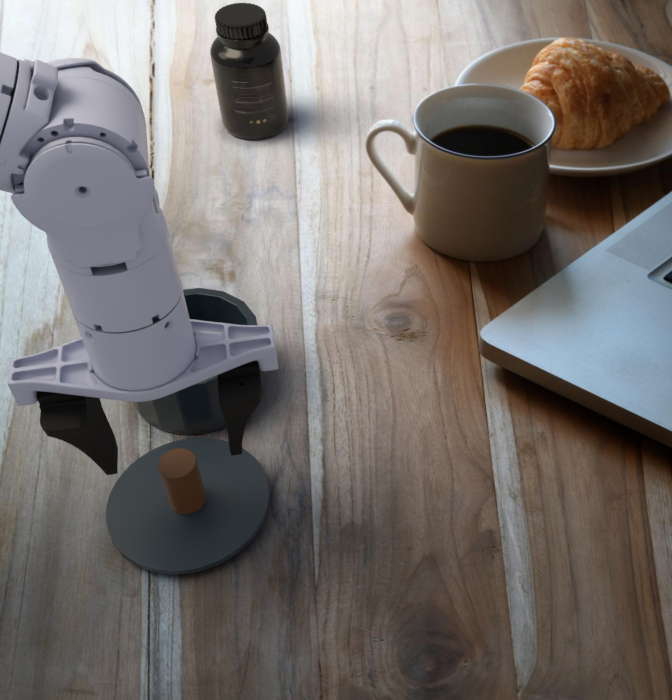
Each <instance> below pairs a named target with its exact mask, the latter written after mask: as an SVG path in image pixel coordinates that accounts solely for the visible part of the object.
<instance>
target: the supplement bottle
mask: <svg viewBox="0 0 672 700" xmlns="http://www.w3.org/2000/svg"><path fill="white" fill-rule="evenodd" d="M267 19H268V17H267V14H266V11H265V10H264V8H262V6H260V5H257V4H254V3H251V2H234V3H230V4H226V5H225V6H222V7H221V8H219V9H218V10H217V11H216V12H215V14H214V23H215V33H216V36H217V37H216V38H215V39H214V40H213V42H211V43H212V44H211V46H210V49H209V53H210V54H209V55H210V62H211V67H212V72H213V78H214V84H215V89H216V95H217V101H218V106H219V113H220V117H221V122H222V125H223V127H224V128H225V130H226V131H227V132H228V133H230V134H231V135H232V136H234V137H237V138H240V139H244V140H262V139H266V138H267V139H268V138H270V137H272V136H273V137H274V136H275V135H277V134H278V133H280V132H281V131H282V130H283V129H284V128H285V127H286V125H287V124H288V121H289V109H288V99H287V91H286V83H285V73H284V67H283V66H284V64H283V56H282V48H281V45H280V43H279V41H278V40H277V38H276V37H275V36H274V35H273V34H272V33H270V27H269V23H268V20H267Z"/></svg>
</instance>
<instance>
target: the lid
mask: <svg viewBox="0 0 672 700" xmlns="http://www.w3.org/2000/svg"><path fill="white" fill-rule="evenodd" d="M242 452H243V453H242V454H239V455H233V456H231V453H230V449H229V441H228V440H223V439H219V438H213V437H191V438H183V439H177V440H174V441H171V442H167V443H164V444H162V445H159V446H157V447H155V448H153V449H151V450H149V451H148V452H146V453H144V454H143V455H141V456H140V457H138V458H137V459H136V460H135V461H133V463H131V464H130V465H129V466H128V467H127V468H126V469H125V470H124V471H123V472H122V474H121V475H120V476H119V477H118V479H117V480H116V482H115V483H114V485H113V487H112V489H111V491H110V494H109V496H108V499H107V503H106V510H105V523H106V528H107V532H108V535H109V537H110V539H111V541H112V543H113V545H114V547H115V548H116V549H117V551H118V552H119V553H120V554H121V555H122V556H123V557H124V559H126V560H127V561H129V562H130V563H131V564H133V565H135V566H137V567H138V568H141V569H142V570H143V569H144V570H146V571H149V572H152V573H157V574H164V575H186V574H194V573H198V572H203V571H206V570H209V569H212V568H214V567H217V566H219V565H221V564H222V563H225V562H226V561H229V560H230V559H232V558H234V557H235V556H236V555H238V554H239V553H240V552H242V551H243V550H244V549H245V548H246V547H247V546H248V545H249V544H250V543H251V542H252V541H253V539H254V538H255V537H256V536H257V534H258V533H259V532H260V530H261V528H262V526H264V523H265V520H266V518H267V517H268V513H269V509H270V500H271V495H270V494H271V493H270V492H271V491H270V490H271V489H270V485H269V480H268V477H267V475H266V472H265V470H264V468H263V466H262V465H261V463H260V462H259V461H258V460H257V459H256V457H254V455H252V453H250V452H249V451H247V450H246V449H244V448H243V447H242Z"/></svg>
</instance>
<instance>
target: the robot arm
mask: <svg viewBox="0 0 672 700" xmlns="http://www.w3.org/2000/svg"><path fill="white" fill-rule="evenodd" d="M147 133H148V132H147V122H146V117H145V113H144V110H143V106H142V102H141V101H140V98H139V96H138V95H137V93H136V91H135V90H134V89H133V88H132V86H131V85H130V84H129V83H128V82H126V80H125V79H123V78H122V77H121V76H119V74H116V73H115V72H113V71H111V70H109V69H107V68H105V67H104V66H102V65H101V64H100V63H98V62H97V61H95V60H93V59H88V58H82V57H68V58H59V59H55V60H52V61H48V62H45V61H42V60H39V59H35V60H34V61H32V60H30V59H27V58H24V59H23V60H22V59H17V58H16V57H13V56H11V55H9V54H6V53H3V52H0V191H1V192H5V193H8V194H9V193H10V194H11V196H10V199H11V201H12V204H13V205H14V206H15V209H16V210H17V211H18V212H19V213H20V215H21V216H23V218H24V219H25V220H26V221H28V222H29V223H30V224H31V225H33V226H34V227H35V228H37V229H39V230H40V231H43V232H44V233H45V234H46V242H47V248H48V250H49V253H50V255H51V256H50V257H51V259H52V262H53V265H54V266H55V269H56V272H57V275H58V278H59V280H60V283H61V286H62V288H63V291H64V293H65V295H66V296H65V297H66V300H67V302H68V304H69V308H70V311H71V313H72V316H73V318H74V321H75V324H76V327H77V329H78V333H79V334H80V337H78V338H76V339H72V340H71V341H70V340H69V341H68V342H65V343H63V344H60V345H57V346H55V347H52V348H48V349H46V350H43V351H40V352H37V353H33V354H29V355H25V356H19V357H13V358H11V359H10V361H9V362H10V363H9V370H8V375H7V376H8V377H7V383H6V384H7V386H8V388H9V390H10V392H11V395H12V397H13V399H14V401H15V403H16V405H17V406H18V407H22V406H29V405H30V406H31V405H35V404H36V403H38V404H39V410H40V414H39V425H40V427H41V429H42V431H43V432H44V433H45V434H46V436H47V437H50V438H54V439H57V440H60V441H62V442H65V443H66V444H69V445H70V446H73V447H75V448H76V449H78V450H79V451H81V452H82V453H83V454H84V455H86V456H87V457H88V458H90V459H91V460H92V461H93V462H94V463H95V465H97V466H98V467H99V468H100V470H101V471H102V472H103V473H104V474H105V475H107V476H110V475H111V476H112V475H117V474H118V465H119V459H118V458H119V447H118V444H117V439H116V436H115V433H114V431H113V428H112V427H111V424H110V422H109V420H108V418H107V415H106V412H105V410H104V408H103V405H102V401H101V399H103V400H104V399H105V400H113V401H120V402H130V403H133V402H144V401H151V400H155V399H159V398H162V397H165V396H167V395H170V394H172V393H175V392H177V391H180V390H182V389H185V388H187V387H189V386H192V385H194V384H197V383H199V382H202V381H204V380H207V379H209V378H211V377H214V376H216V375H217V376H218V393H219V405H220V409H221V411H222V413H223V416H224V419H225V422H226V426H227V427H226V429H227V436H228V442H229V449H230V453H231V456H233V455H239V454H242V453H243V452H242V448H243V441H244V434H245V432H246V428H247V426H248V422H249V420H250V418H251V416H252V414H253V413H254V411H255V410H256V409H257V408H258V407H259V406H260V404H261V401H262V395H263V393H262V383H261V374H260V370H261V371H265V372H270V371H277V370H279V368H280V367H279V362H278V352H277V345H276V338H275V332H274V327H273V324H272V323H269V324H268V323H267V324H257V325H237V324H228V323H219V322H210V321H202V320H193V319H190V318H189V314H188V309H187V305H186V301H185V297H184V293H183V290H184V289H183V287H182V279H181V276H180V272H179V268H178V264H177V261H176V256H175V255H176V254H175V251H174V248H173V243H172V239H171V235H170V232H169V227H168V223H167V219H166V216H165V214H164V211H163V210H162V208H161V206H160V199H159V194H158V193H159V192H158V190H157V188H156V186H155V182H154V178H153V177H151V173H150V159H149V147H148V146H149V145H148V134H147Z"/></svg>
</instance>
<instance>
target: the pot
mask: <svg viewBox="0 0 672 700" xmlns="http://www.w3.org/2000/svg"><path fill="white" fill-rule="evenodd" d="M183 293H184V297H185V301H186V305H187V309H188V314H189V318H190V319H193V320H202V321H210V322H219V323H228V324H237V325H258V319H257V316H256V315H255V314H254V312H253V311H252V309H251V308H250V307H249V306H248V304H247V303H246V302H245V301H243V300H242V299H239V298H238V297H236V296H234V295H232V294H230V293H228V292H226V291H224V290H217V289H212V288H204V287H193V288H185V289H183ZM260 374H261V383H262V394H263V393H264V390H265V386H266V371H261V370H260ZM132 403H133V405H134V408H135V409H136V411H137V413H138V414H139V415H140V417H141V418H142V419H143V420H144V421H145V422H147V423H148V424H149V425H151V426H152V427H154V428H156V429H158V430H161V431H164V432H167V433H171V434H175V435H182V436H183V435H184V436H185V435H186V436H187V435H189V436H190V435H191V436H192V435H193V436H194V435H203V434H208V433H212V432H216V431H219V430H222V429H225V428H227V426H226V422H225V419H224V416H223V413H222V411H221V409H220V405H219V393H218V376H217V375H216V376H214V377H211V378H209V379H207V380H204V381H202V382H199V383H197V384H194V385H192V386H189V387H187V388H185V389H182V390H180V391H177V392H175V393H172V394H170V395H167V396H165V397H162V398H159V399H155V400H151V401H144V402H132Z"/></svg>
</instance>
